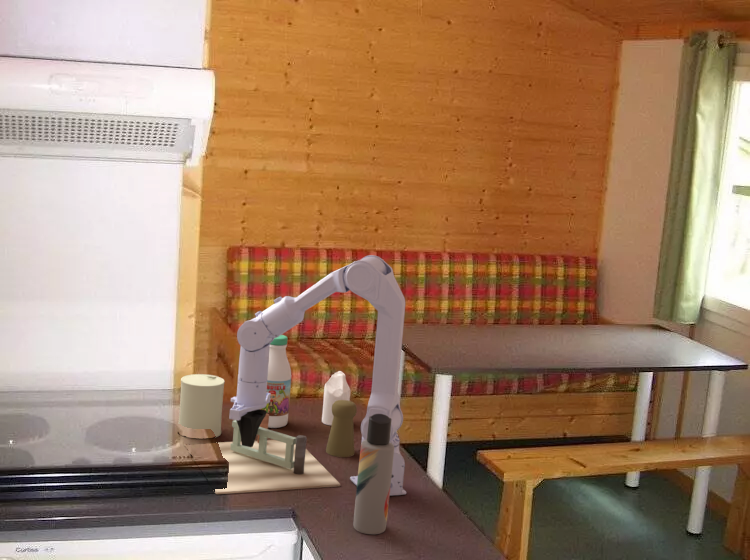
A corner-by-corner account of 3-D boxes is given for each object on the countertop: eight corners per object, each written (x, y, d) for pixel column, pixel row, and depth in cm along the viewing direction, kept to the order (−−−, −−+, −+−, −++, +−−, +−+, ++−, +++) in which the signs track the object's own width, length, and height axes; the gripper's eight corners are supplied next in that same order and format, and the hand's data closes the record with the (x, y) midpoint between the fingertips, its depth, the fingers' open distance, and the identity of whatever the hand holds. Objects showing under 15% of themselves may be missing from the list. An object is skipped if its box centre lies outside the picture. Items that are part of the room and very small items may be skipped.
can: (229, 432, 215) (233, 377, 213) (203, 442, 207) (207, 386, 205) (195, 422, 219) (198, 369, 217) (168, 432, 211) (171, 377, 209)
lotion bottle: (385, 522, 175) (396, 412, 172) (386, 536, 169) (398, 422, 166) (352, 520, 175) (363, 410, 172) (353, 533, 169) (364, 420, 166)
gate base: (340, 486, 190) (343, 447, 189) (216, 494, 180) (219, 454, 179) (296, 440, 213) (299, 406, 212) (184, 445, 204) (186, 409, 202)
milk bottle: (249, 417, 226) (256, 331, 223) (283, 417, 228) (290, 332, 225) (256, 429, 219) (263, 339, 215) (290, 428, 221) (298, 340, 218)
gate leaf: (294, 467, 195) (296, 437, 194) (290, 468, 194) (293, 439, 193) (234, 448, 203) (236, 419, 202) (230, 449, 201) (232, 421, 201)
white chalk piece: (326, 373, 224) (325, 367, 229) (321, 425, 226) (321, 417, 231) (352, 375, 224) (351, 369, 230) (348, 427, 226) (347, 419, 232)
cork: (356, 449, 212) (361, 399, 210) (352, 458, 206) (357, 407, 204) (327, 445, 212) (332, 395, 210) (323, 454, 206) (328, 403, 205)
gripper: (249, 367, 203) (244, 432, 205) (217, 383, 189) (212, 452, 191) (281, 373, 201) (276, 438, 203) (251, 390, 187) (245, 459, 189)
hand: (247, 445), depth 197 cm, fingers closed
